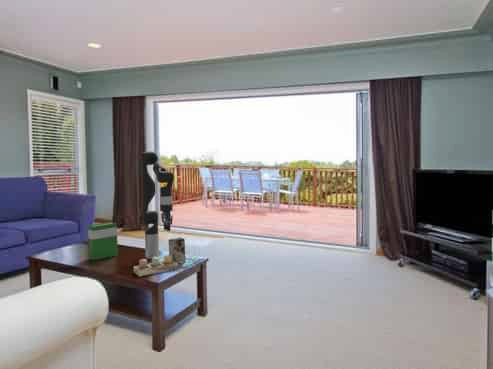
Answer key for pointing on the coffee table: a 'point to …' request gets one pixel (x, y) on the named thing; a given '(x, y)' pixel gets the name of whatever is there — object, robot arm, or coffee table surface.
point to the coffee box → (177, 249)
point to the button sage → (155, 261)
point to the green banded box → (102, 240)
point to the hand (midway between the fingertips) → (167, 230)
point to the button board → (155, 268)
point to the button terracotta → (143, 263)
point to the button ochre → (167, 259)
